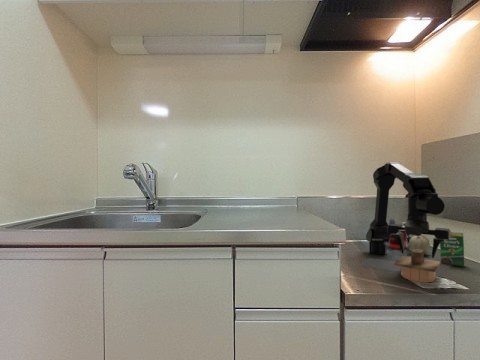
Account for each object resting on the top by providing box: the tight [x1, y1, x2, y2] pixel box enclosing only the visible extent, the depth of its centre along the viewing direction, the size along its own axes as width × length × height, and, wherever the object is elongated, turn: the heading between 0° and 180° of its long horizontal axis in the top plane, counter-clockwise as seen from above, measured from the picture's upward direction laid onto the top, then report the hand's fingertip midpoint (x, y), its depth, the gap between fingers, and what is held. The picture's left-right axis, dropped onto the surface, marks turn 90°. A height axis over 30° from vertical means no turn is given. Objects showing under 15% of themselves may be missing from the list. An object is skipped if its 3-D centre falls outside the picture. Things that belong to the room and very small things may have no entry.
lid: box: [394, 249, 442, 273], centre depth 105 cm, size 12×12×5 cm
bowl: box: [400, 267, 436, 283], centre depth 105 cm, size 10×10×5 cm
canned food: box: [388, 225, 407, 251], centre depth 149 cm, size 8×8×11 cm
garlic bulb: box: [408, 234, 431, 255], centre depth 136 cm, size 9×8×10 cm
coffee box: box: [439, 231, 465, 268], centre depth 121 cm, size 8×3×13 cm, turn 51°
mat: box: [359, 257, 401, 273], centre depth 120 cm, size 14×14×1 cm
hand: (417, 255), depth 105 cm, fingers open, 9 cm apart
